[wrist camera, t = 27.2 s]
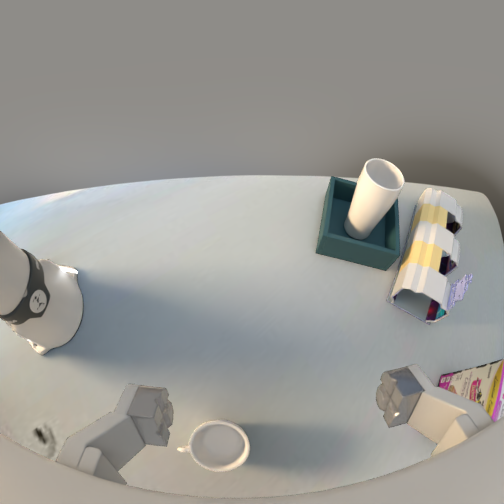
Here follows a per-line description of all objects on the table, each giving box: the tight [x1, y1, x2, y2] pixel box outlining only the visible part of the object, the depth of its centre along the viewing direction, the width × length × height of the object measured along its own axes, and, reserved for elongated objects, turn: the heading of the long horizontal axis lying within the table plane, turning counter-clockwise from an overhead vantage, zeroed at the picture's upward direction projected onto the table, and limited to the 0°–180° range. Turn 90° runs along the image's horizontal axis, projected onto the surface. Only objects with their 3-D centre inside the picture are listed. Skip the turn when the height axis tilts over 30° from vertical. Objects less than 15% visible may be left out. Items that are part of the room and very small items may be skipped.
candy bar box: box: [438, 359, 504, 422], centre depth 26 cm, size 11×5×16 cm, turn 154°
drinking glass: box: [344, 159, 404, 240], centre depth 42 cm, size 7×7×15 cm
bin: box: [316, 176, 400, 271], centre depth 47 cm, size 14×14×6 cm
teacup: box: [178, 419, 250, 472], centre depth 30 cm, size 10×8×5 cm
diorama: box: [387, 188, 473, 325], centre depth 41 cm, size 25×10×13 cm, turn 148°
